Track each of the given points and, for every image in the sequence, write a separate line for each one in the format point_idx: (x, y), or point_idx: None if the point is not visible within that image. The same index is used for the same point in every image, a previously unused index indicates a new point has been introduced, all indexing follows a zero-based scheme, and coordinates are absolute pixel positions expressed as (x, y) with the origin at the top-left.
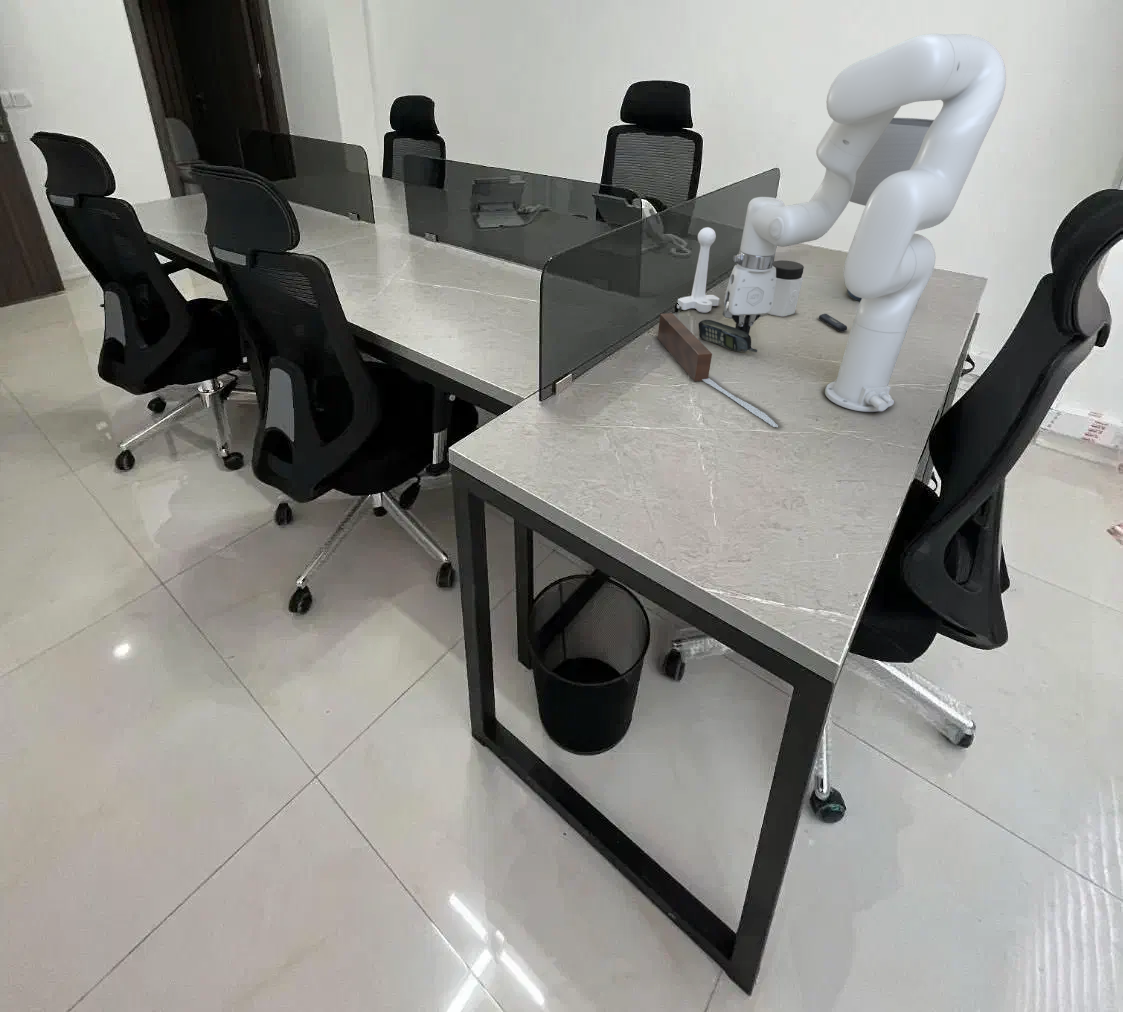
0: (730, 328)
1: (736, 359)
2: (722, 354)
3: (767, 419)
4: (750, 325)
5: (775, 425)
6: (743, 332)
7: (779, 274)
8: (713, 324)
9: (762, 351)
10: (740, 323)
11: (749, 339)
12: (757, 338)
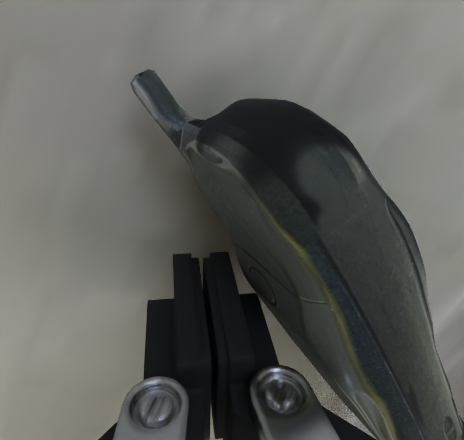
0: (397, 336)
1: (340, 38)
2: (384, 152)
3: None
4: (157, 386)
5: None
6: (329, 236)
7: None
8: (440, 414)
9: (41, 164)
10: (294, 400)
11: (264, 133)
12: (16, 361)
